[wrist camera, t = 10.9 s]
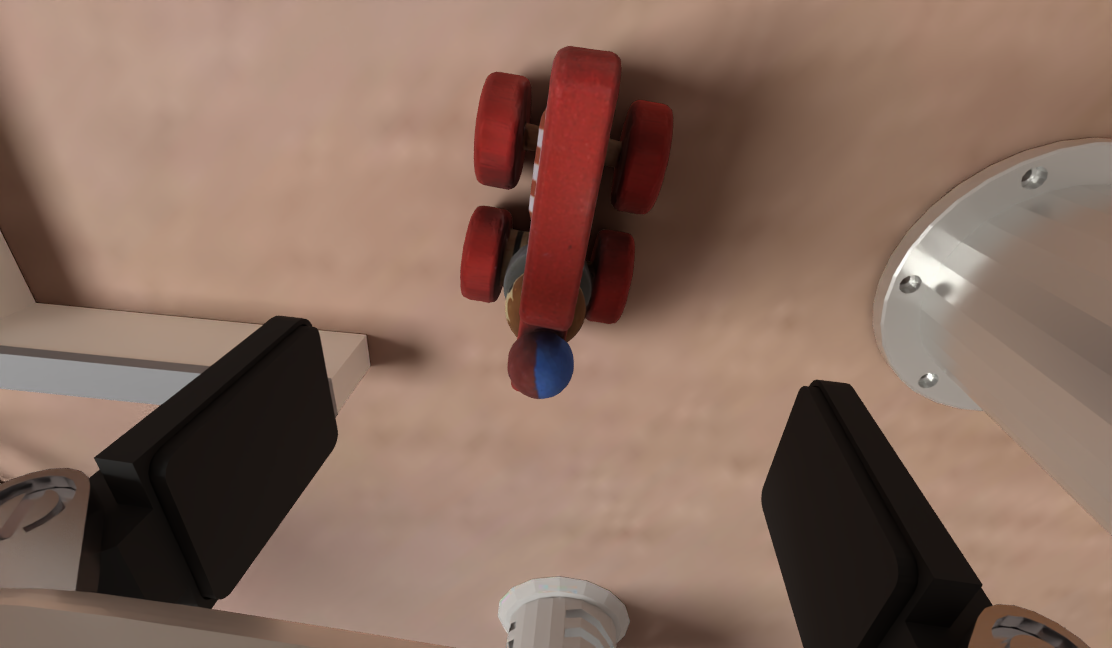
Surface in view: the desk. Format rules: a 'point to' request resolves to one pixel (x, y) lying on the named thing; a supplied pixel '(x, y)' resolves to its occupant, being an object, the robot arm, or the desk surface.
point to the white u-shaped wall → (130, 348)
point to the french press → (562, 615)
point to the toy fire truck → (560, 208)
